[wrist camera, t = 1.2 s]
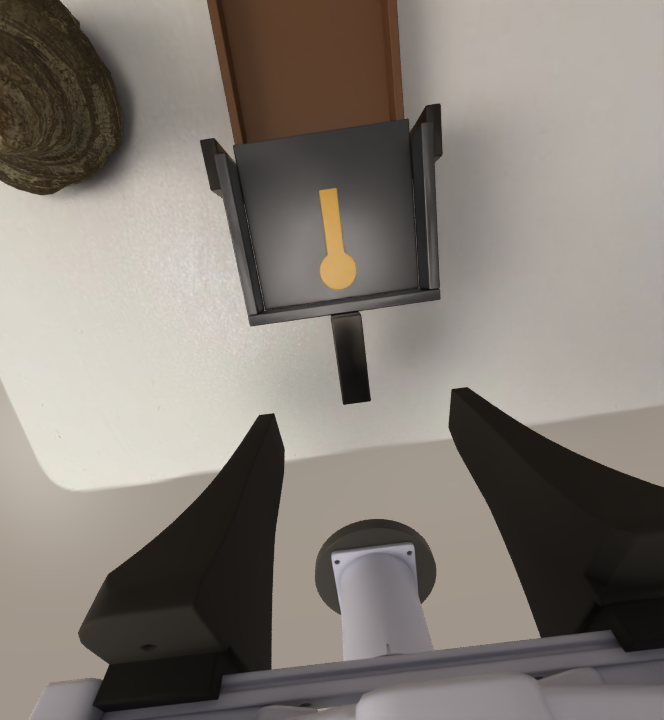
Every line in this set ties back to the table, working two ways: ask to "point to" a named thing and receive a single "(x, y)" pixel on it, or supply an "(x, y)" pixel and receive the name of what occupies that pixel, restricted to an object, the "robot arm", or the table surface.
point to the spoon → (335, 245)
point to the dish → (358, 221)
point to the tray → (307, 65)
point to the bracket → (213, 148)
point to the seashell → (52, 99)
